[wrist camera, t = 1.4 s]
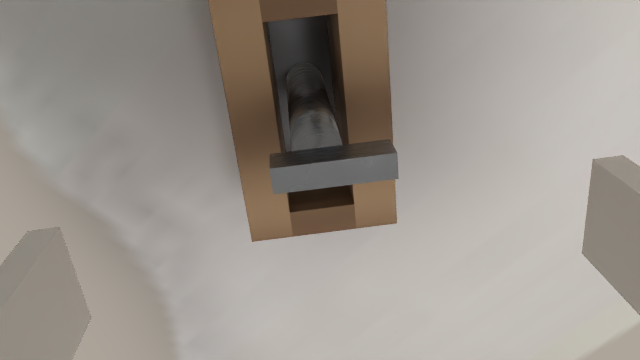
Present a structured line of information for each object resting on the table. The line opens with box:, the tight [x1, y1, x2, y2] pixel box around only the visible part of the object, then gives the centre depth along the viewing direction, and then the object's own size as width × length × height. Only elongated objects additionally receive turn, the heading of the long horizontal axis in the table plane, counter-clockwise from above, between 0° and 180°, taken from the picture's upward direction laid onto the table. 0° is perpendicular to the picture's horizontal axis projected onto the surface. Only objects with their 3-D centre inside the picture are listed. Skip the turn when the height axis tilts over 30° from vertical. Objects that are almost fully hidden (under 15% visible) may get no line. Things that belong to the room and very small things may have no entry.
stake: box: [269, 63, 398, 194], centre depth 23 cm, size 2×4×11 cm, turn 96°
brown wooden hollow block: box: [208, 0, 397, 242], centre depth 25 cm, size 12×6×6 cm, turn 6°
